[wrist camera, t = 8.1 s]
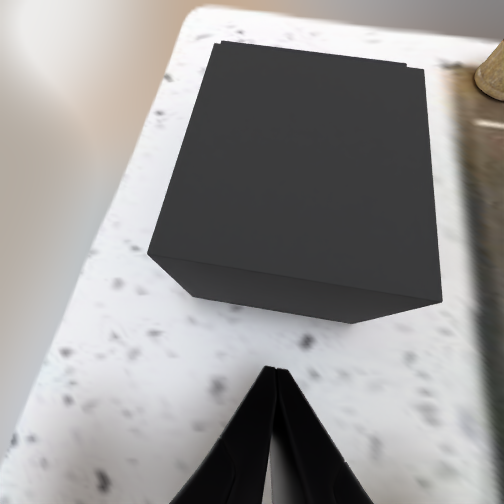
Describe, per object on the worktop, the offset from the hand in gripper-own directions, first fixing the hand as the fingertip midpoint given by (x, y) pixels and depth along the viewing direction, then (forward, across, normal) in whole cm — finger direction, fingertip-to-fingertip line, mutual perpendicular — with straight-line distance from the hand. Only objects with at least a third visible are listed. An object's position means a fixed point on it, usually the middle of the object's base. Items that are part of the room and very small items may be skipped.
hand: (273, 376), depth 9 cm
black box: (+11, 0, +2) cm, 11 cm away
